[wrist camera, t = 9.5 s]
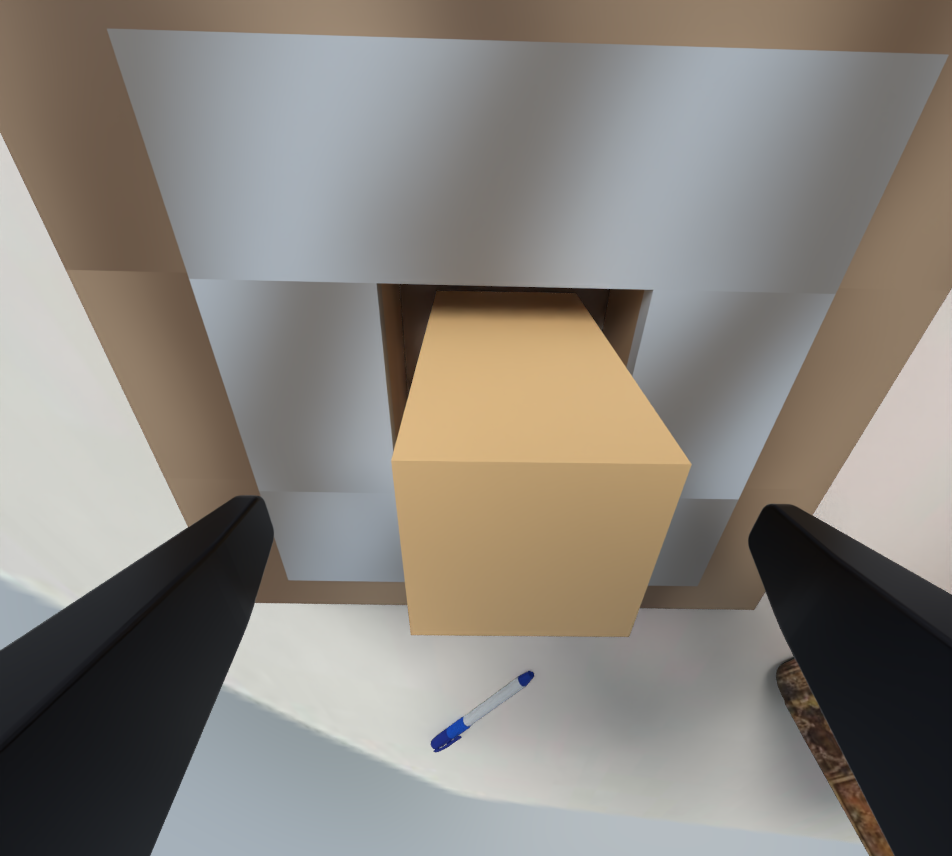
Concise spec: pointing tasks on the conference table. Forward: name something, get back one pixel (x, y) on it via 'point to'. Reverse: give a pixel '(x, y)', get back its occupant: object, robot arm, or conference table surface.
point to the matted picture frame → (489, 233)
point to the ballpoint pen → (480, 712)
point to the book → (829, 756)
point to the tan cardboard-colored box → (528, 473)
